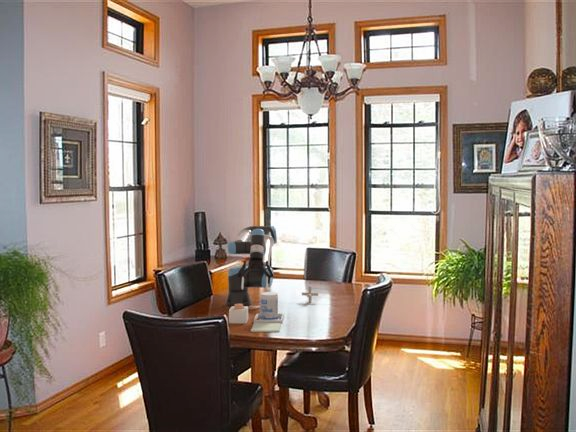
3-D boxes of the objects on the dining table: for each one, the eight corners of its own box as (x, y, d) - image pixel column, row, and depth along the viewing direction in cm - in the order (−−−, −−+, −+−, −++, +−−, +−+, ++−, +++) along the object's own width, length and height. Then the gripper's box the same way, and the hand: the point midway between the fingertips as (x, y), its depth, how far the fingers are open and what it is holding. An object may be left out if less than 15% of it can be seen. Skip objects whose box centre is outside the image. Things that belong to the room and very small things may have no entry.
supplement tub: (259, 322, 301) (259, 295, 300) (260, 318, 310) (260, 291, 309) (278, 322, 301) (277, 295, 300) (278, 318, 310) (278, 291, 309)
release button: (235, 312, 306) (235, 303, 306) (243, 312, 306) (243, 303, 306) (233, 314, 302) (233, 305, 302) (242, 314, 302) (242, 305, 301)
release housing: (231, 319, 309) (231, 306, 309) (248, 319, 309) (248, 306, 308) (229, 323, 300) (228, 310, 300) (246, 323, 300) (246, 310, 299)
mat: (254, 324, 297) (254, 323, 297) (281, 324, 296) (281, 323, 296) (250, 331, 283) (250, 330, 283) (279, 332, 282) (279, 330, 282)
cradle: (256, 317, 313) (256, 313, 313) (284, 317, 312) (284, 313, 312) (253, 323, 298) (253, 320, 298) (282, 324, 298) (282, 320, 297)
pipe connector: (316, 304, 343) (316, 287, 342) (300, 303, 345) (300, 287, 344) (319, 300, 353) (319, 284, 352) (303, 300, 355) (303, 284, 354)
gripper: (234, 251, 323) (231, 285, 311) (278, 251, 321) (276, 285, 310) (235, 257, 329) (232, 291, 318) (278, 257, 328) (277, 291, 316)
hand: (254, 288), depth 314 cm, fingers open, 13 cm apart
